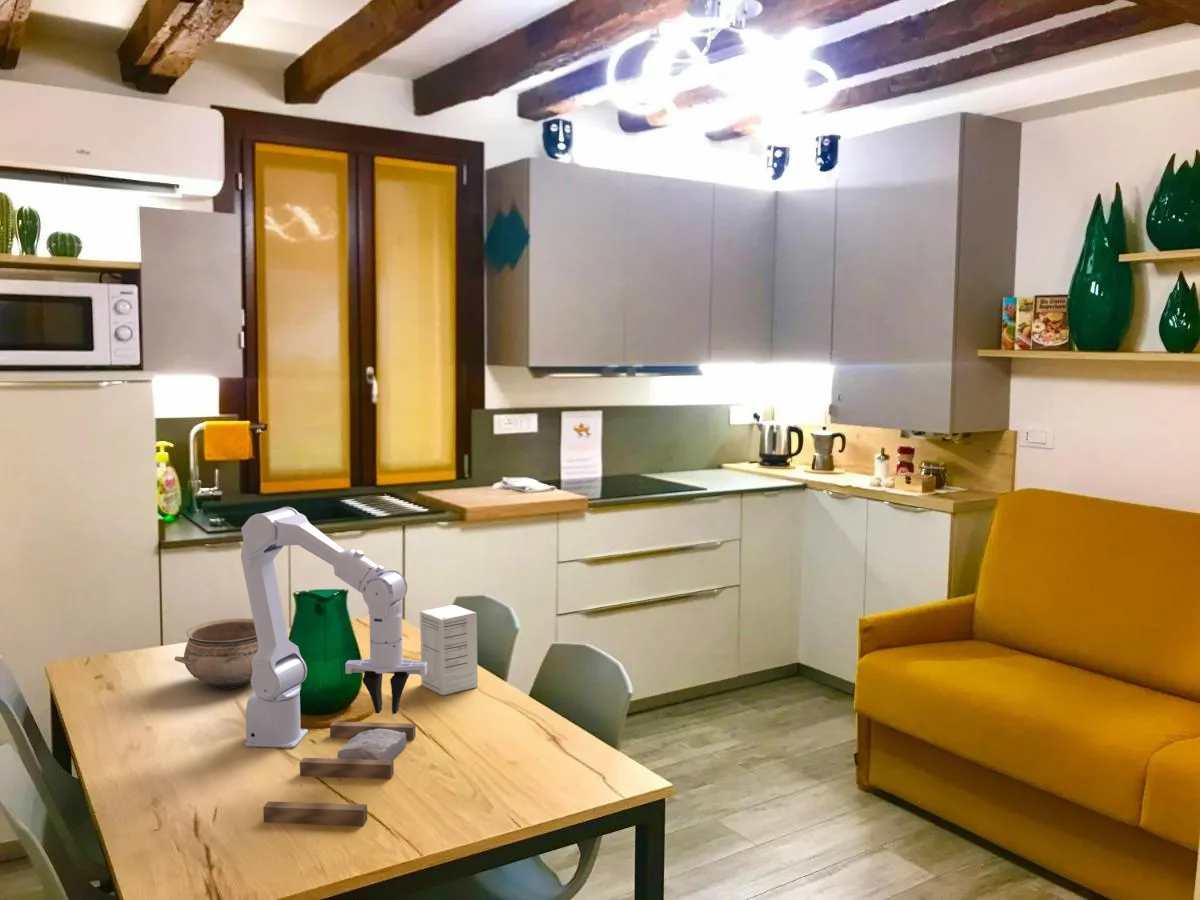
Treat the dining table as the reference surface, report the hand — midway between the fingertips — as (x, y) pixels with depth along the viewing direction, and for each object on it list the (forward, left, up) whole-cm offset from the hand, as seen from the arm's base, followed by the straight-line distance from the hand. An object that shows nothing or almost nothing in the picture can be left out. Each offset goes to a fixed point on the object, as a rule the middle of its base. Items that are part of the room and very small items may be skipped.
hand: (386, 711), depth 185 cm
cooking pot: (-44, +36, -9) cm, 57 cm away
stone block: (-3, 0, -9) cm, 9 cm away
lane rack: (-5, -9, -8) cm, 13 cm away
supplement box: (+4, +38, -9) cm, 39 cm away
